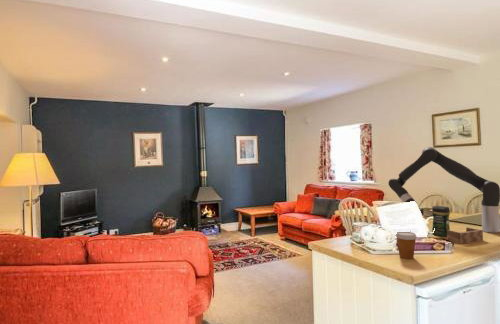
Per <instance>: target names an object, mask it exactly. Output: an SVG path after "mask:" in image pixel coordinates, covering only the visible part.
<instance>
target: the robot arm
mask: <svg viewBox="0 0 500 324" xmlns="http://www.w3.org/2000/svg"><path fill="white" fill-rule="evenodd" d="M431 162H432V163H435V164H436V165H438V166H440V167H441V169H443V170H445V172H447V173H448V174H450V175H451V176H453V177H455V178H456V179H459V180H460V181H463V182H465V183H467V184H469V185H471V186H473V187H474V188H475V189H477V190H478V191H480V192H481V193H482V200H481V202H480V203H481V204H480V205H481V230H483V232H485V233H494V234H495V233H497V234H498V233H500V205H499V204H500V185H499V184H498V183H497V182H495V181H491V180H488V179H486V178H484V177H481V176H479V175H477V174H476V173H475V172H474V171H473V170H472V169H470V168H469V167H467V166H465V165H463V164H462V163H461V162H458V161H457V160H454V159H452V158H450V157H447V156H446V155H444V154H442V153H441V152H440V151H438V150H437V149H436V148H434V147H430V146H427V147H425V148H423V149H422V152H421V155H420V156H419V157H418V158H417V159H416V160H415V161H414V162H413V163H411V164H409V165H408V166H406V167H405V168H404V169H403V170H402V171H401V172H400V173H399V174H398V178H397V179H396V178H391V179H389V180H388V186H389V187H390V189H391V190H392V191H393V192H394V193H395V194H396V195H397V197H398V198H399V199H400V200H401V202H402V203H403V202H410V201H415V202H416V203H417V201H416V200H415V198H414V197H413V196H412V195H411V194H410V193H409V192H408V190H407V189H406V188H405V187H403V186H405V184H406V182H407V181H408V180H410V178H412V177H413V176H414V175H415V174H416V173H418V171H419V170H420V169H422V168H423V167H425V166H427V165H428V164H429V163H431ZM419 209H420V211H421V213H422V216H423V218H424V219H425V217H424V214H425V213H424V211H425V210H424V208H420V207H419Z"/></svg>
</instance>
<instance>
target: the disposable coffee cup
mask: <svg viewBox="0 0 500 324" xmlns="http://www.w3.org/2000/svg"><path fill="white" fill-rule="evenodd" d="M395 237H396V241H397V242H396V243H397V248H398V253H399V258H401V259H405V260H413V259H414V255H415V247H416V239H417V238H418V237H417V235H416V232H411V231H410V232H397V234H396V235H395Z"/></svg>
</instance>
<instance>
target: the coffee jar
mask: <svg viewBox="0 0 500 324" xmlns="http://www.w3.org/2000/svg"><path fill="white" fill-rule="evenodd" d="M431 213H432V218H433V219H432V220H433V221H432V229H431V230H432V231H431V233H432V232H433V230H434V228H435V231H434V233H432V235H434V236H439V237H447V230H450V231H451V228H450V213H451V211H450V207H449V206H442V205H434V206H432V209H431Z"/></svg>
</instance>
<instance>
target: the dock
mask: <svg viewBox="0 0 500 324" xmlns="http://www.w3.org/2000/svg"><path fill="white" fill-rule="evenodd" d="M465 229H466V231H464V232H463V231H462V232H460V231H454V230H451V229H450V230H447V236H446V241H447V240H449V241H448V242H451V241H452V243H456V244H460V245H463V244H469V243H475V242H482V241H483V240H484V235H483V234H484V233H483V232H484V231H483V230H482V229H478V228H473V227H466V228H465Z"/></svg>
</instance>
